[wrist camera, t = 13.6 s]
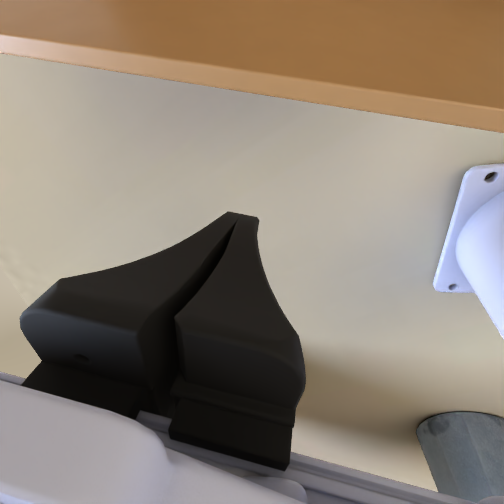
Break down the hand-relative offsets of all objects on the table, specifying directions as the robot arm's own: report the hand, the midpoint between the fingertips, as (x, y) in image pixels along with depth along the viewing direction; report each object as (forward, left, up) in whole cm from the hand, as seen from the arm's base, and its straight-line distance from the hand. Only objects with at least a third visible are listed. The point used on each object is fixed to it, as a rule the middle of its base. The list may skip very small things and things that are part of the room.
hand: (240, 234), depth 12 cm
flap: (-2, -7, +1) cm, 7 cm away
